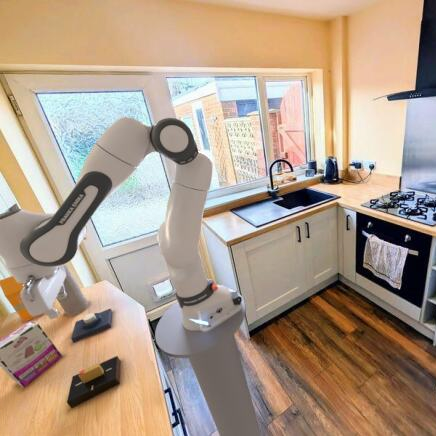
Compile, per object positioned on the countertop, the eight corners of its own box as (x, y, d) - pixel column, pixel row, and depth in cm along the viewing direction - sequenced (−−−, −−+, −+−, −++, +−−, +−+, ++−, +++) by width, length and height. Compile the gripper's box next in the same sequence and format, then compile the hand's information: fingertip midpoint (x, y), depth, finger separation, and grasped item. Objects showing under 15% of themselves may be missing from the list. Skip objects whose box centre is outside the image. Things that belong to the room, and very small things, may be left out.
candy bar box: (54, 353, 88) (30, 320, 82) (63, 356, 87) (39, 322, 80) (15, 384, 79) (-17, 349, 72) (24, 388, 77) (-7, 353, 71)
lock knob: (103, 370, 77) (98, 362, 75) (103, 374, 76) (98, 366, 74) (84, 379, 75) (78, 371, 73) (83, 383, 73) (78, 375, 72)
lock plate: (120, 361, 83) (117, 354, 81) (119, 384, 75) (115, 377, 74) (77, 382, 77) (72, 375, 76) (71, 409, 70) (66, 402, 69)
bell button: (96, 315, 99) (94, 311, 99) (95, 320, 96) (93, 317, 96) (85, 319, 98) (83, 315, 97) (84, 325, 95) (82, 321, 94)
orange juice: (25, 313, 111) (-1, 277, 102) (50, 302, 116) (28, 267, 108) (23, 322, 105) (-4, 285, 97) (50, 310, 110) (26, 274, 102)
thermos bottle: (62, 317, 105) (27, 263, 94) (73, 304, 113) (42, 252, 101) (82, 313, 106) (49, 259, 95) (92, 300, 114) (63, 249, 102)
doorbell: (112, 312, 105) (108, 305, 104) (111, 327, 97) (106, 320, 96) (78, 325, 100) (73, 318, 98) (73, 343, 92) (68, 335, 90)
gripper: (38, 283, 60) (65, 324, 65) (59, 249, 76) (79, 284, 82) (3, 293, 57) (34, 336, 63) (32, 256, 74) (55, 292, 79)
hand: (59, 306), depth 72 cm, fingers open, 8 cm apart
